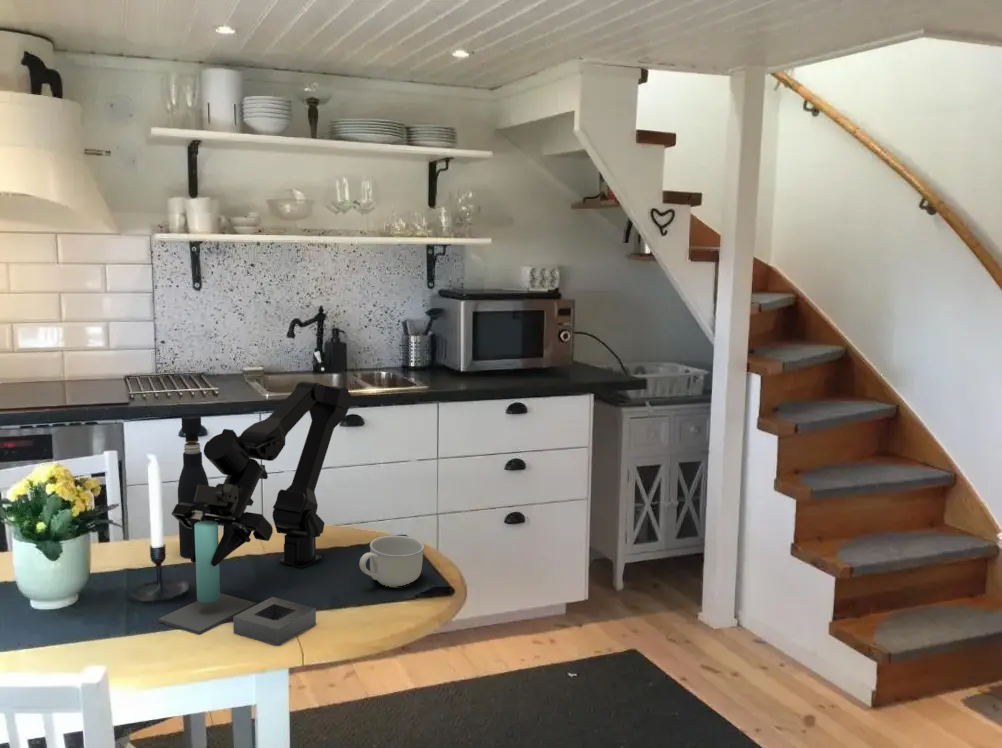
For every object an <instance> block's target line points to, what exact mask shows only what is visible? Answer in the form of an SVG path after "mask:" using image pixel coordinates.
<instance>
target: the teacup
mask: <svg viewBox="0 0 1002 748" xmlns="http://www.w3.org/2000/svg"><path fill="white" fill-rule="evenodd" d="M424 545H425V544H424V543H423V541H421V540H420V539H417V538H414V537H412V536H406V535H384V536H379V537H376V538H375V539H373V540H371V542H370V543H369V549H370V551H369V552H365V553H364V554H363V555H362V556H361V557H360V558H359V563H358V564H359V568H360V570H361V571H362V572H363V573H364V574H366V575H368V576H369V577H371V578H372V580H375V581H377V582H378V583H379V584H380V585H382V586H384V585H385V586H384V587H388V586H389V588H398V587H397V586H403V585H406V584H409V583H411V582H412V583H413V582H414V581H416V580H417V579H418V578H419V577H420V575H421V573H422V568H423V559H424V549H425V546H424ZM368 560H369V569H368V568H367V566H366V565H367V561H368ZM412 583H411V584H412ZM409 585H410V584H409Z"/></svg>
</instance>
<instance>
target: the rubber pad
mask: <svg viewBox="0 0 1002 748" xmlns="http://www.w3.org/2000/svg"><path fill="white" fill-rule="evenodd" d="M255 605H257V602H254V601H250V600H247V599H243V598H239V597H236V596H231V595H228V594H225V593H222V592H220V599H219V600H217V601H214V602H209V603H203V602H199V601H198V600H197V601H194V602H192V603H189V604H188V605H184V607H180V608H179V609H176V610H175V611H172V612H170V613H168V614H166V615H163V616H161V617H160V618H157V621H158V623H160V624H163V623H164V625H167V626H170V627H174V628H176V629H180V630H184V631H186V632H189V633H193V634H196V635H201V634H203V633H205V632H208V631H210V630H212V629H214V628H217V626H220V625H222V624H224V623H225V622H227V621H229V620H231V619H233V616H235V615H237V614H239V613H241V612H243V611H245V610H247V609H249V608H251V607H253V606H255Z"/></svg>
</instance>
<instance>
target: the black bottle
mask: <svg viewBox="0 0 1002 748" xmlns="http://www.w3.org/2000/svg"><path fill="white" fill-rule="evenodd" d="M181 433H183V434H185V443H184V446H183V451H184V452H183V453H182V461H183V466H182V469H181V473H180V475H179V479H178V485H177V504H178V503H181V502H183V503H189V504H196V505H197V506H198V507H199V508H200V509H201V510H202V511H203V512H205V513H209V512H210V510H208V509H206V508H205V507H204V505H205V503H201V502H194V498H195V494H196V490H197V486H198V485H206V486H210V483H209V478H208V476H207V473H206V471H205V467H204V466H203V452H202V450H201V445H200V444H201V443H200V442H199V441H200V439H199V433H202V416H201V415H198V414H188V415H183V416H181ZM178 536H179V537H178V538H179V556H180V557H181V558H184V559H190V560H191V551H192V540H193V531H192V529H189V528H187V527H185V526H184V525H182V524H181V523H180V522H179V521H178Z"/></svg>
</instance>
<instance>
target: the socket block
mask: <svg viewBox="0 0 1002 748" xmlns="http://www.w3.org/2000/svg"><path fill="white" fill-rule="evenodd" d="M232 619H233V621H232V623H233V628H232V629H233V631H232V632H233V634H236V635H239V636H243V637H246V638H249V639H253V640H256V641H259V642H263V643H266V644H269V645H273V646H277V647H279V646H280V645H283V644H284V643H286V642H288V641H289V640H291V639H293V638H295V637H296V636H298V635H300V634H302V633H303V632H305V631H307V630H308V629H310V628H312V627H314V626H316V625H317V608H316V607H312V606H308V605H305V604H301V603H297V602H293V601H289V600H286V599H282V598H278V597H276V596H270V597H269V598H267V599H265V600H263V601H261V602H260V603H258V604H257V603H256V605H255V606H253V607H251V608H249V609H247V610H245V611H243V612H241V613H239V614H237V615H235V616H233V618H232Z"/></svg>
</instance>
